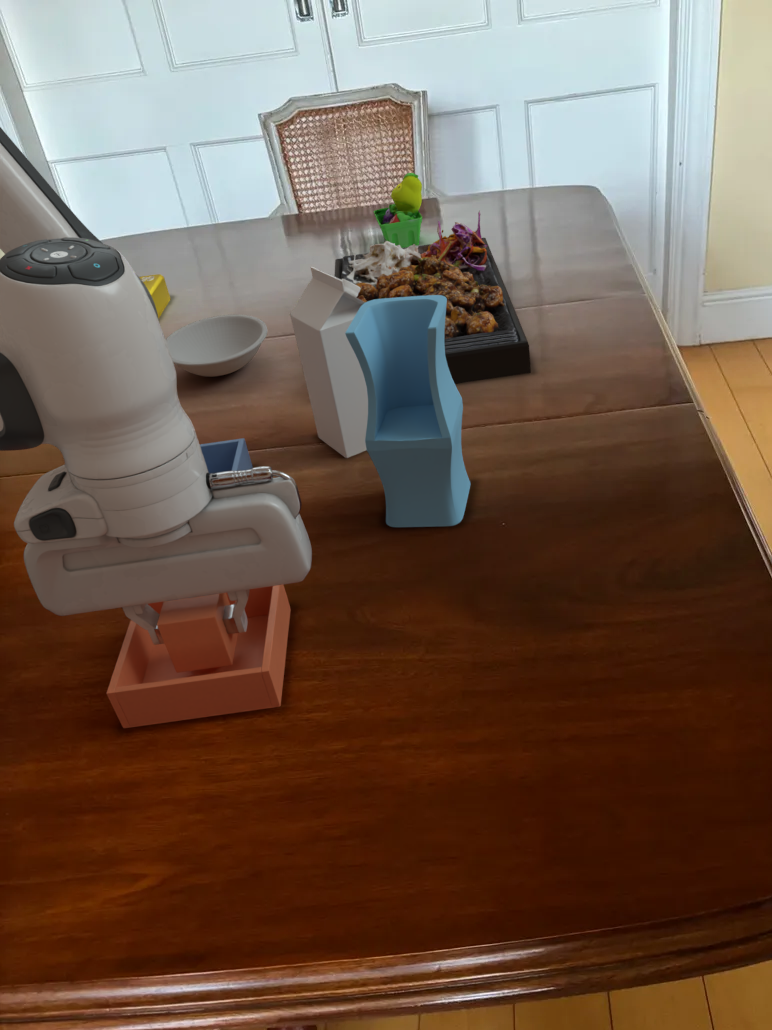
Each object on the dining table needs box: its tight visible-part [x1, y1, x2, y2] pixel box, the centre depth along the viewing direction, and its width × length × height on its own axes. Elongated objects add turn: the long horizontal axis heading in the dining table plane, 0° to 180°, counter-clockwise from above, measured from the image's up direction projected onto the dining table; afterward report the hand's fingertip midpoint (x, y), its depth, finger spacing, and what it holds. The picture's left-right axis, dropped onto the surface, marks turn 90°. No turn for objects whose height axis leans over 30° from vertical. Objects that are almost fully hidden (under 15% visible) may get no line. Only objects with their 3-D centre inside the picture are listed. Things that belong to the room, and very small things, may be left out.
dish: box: [165, 313, 268, 378], centre depth 122 cm, size 18×14×5 cm
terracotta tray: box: [106, 584, 292, 729], centre depth 72 cm, size 12×12×4 cm
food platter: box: [333, 210, 532, 385], centre depth 126 cm, size 45×25×10 cm, turn 5°
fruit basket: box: [373, 172, 423, 248], centre depth 159 cm, size 11×9×11 cm
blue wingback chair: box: [345, 295, 471, 528], centre depth 83 cm, size 8×8×20 cm
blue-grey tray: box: [199, 437, 254, 474], centre depth 94 cm, size 12×12×4 cm
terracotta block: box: [157, 593, 238, 673], centre depth 71 cm, size 4×4×5 cm
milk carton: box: [289, 266, 368, 459], centre depth 97 cm, size 7×7×19 cm
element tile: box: [139, 273, 171, 320], centre depth 145 cm, size 15×15×5 cm
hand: (201, 633), depth 71 cm, fingers closed on terracotta block, 4 cm apart
